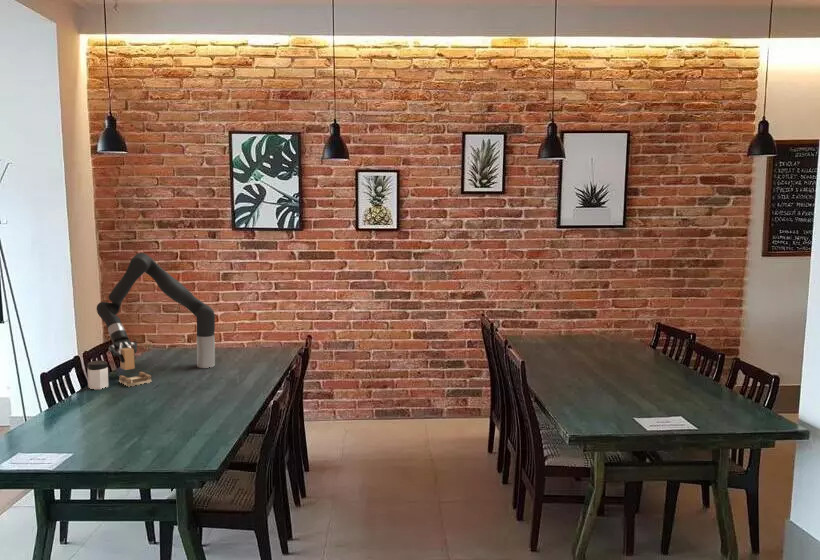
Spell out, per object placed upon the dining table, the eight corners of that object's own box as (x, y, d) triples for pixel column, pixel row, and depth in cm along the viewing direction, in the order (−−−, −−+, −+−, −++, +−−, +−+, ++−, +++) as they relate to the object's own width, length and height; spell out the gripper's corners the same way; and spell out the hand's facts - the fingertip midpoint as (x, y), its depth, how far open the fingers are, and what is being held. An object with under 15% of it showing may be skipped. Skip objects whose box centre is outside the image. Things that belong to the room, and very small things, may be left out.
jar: (110, 388, 277) (109, 363, 275) (90, 390, 272) (89, 365, 270) (105, 383, 284) (104, 359, 282) (86, 386, 278) (85, 361, 277)
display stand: (119, 382, 286) (118, 375, 286) (141, 378, 294) (141, 371, 294) (128, 387, 279) (128, 380, 278) (151, 382, 287) (151, 375, 286)
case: (120, 367, 296) (119, 348, 295) (129, 366, 299) (128, 347, 298) (125, 370, 292) (124, 350, 291) (134, 368, 295) (133, 349, 294)
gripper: (105, 331, 293) (116, 359, 286) (134, 327, 304) (145, 354, 297) (101, 340, 297) (112, 367, 291) (130, 336, 308) (141, 362, 301)
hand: (128, 360), depth 294 cm, fingers closed on case, 4 cm apart
